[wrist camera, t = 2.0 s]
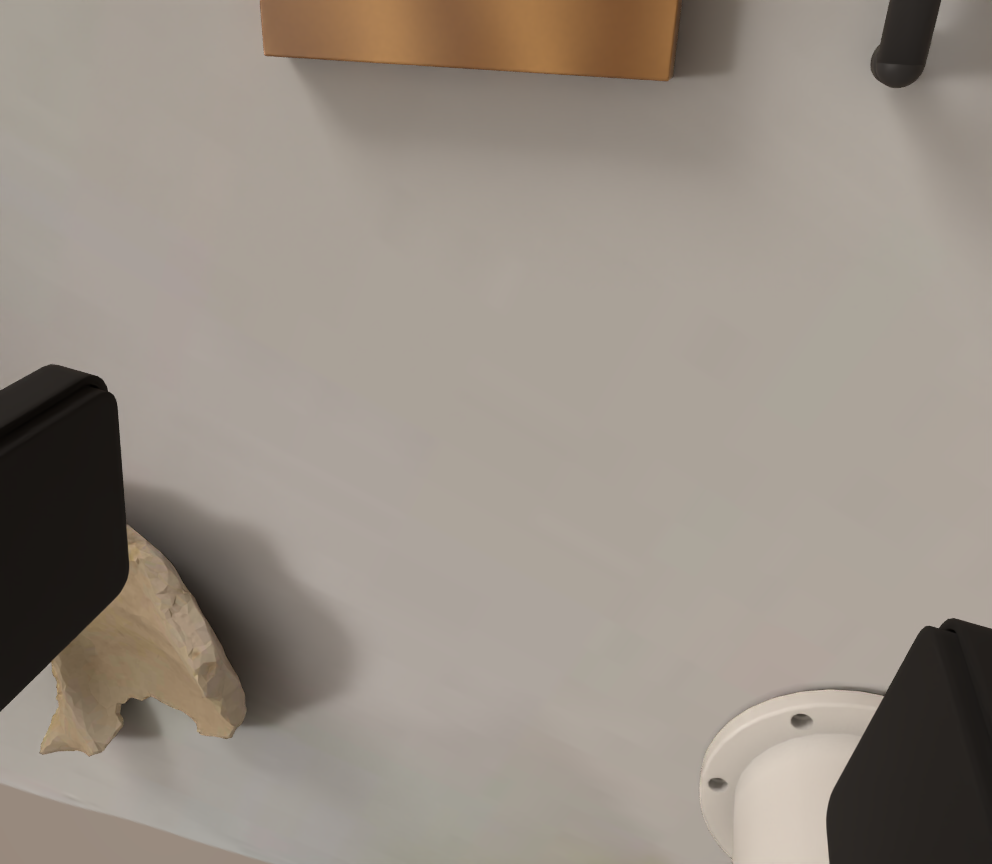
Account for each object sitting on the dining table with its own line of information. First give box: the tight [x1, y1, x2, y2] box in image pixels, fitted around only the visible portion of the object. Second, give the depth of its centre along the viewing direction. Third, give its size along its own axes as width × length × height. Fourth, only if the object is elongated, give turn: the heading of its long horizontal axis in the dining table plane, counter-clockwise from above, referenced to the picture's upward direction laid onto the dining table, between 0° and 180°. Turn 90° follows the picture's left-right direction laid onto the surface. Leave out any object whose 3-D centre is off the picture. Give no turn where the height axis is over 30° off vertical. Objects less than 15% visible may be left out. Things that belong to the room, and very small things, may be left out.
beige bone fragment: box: [39, 524, 247, 757], centre depth 45 cm, size 18×15×4 cm
